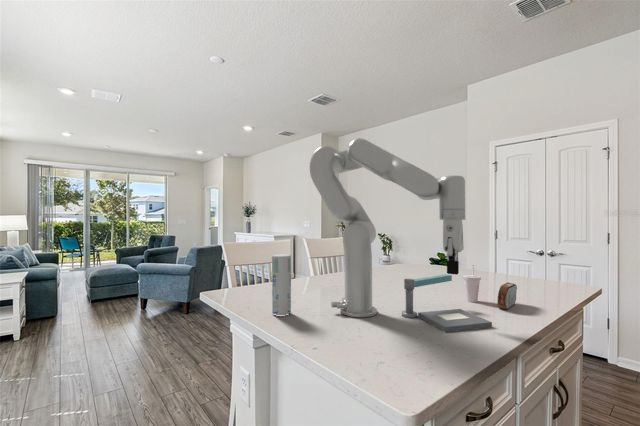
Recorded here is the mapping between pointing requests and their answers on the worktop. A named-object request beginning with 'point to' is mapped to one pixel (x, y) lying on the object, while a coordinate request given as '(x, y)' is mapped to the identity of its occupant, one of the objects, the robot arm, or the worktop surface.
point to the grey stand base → (446, 317)
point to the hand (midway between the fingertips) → (452, 273)
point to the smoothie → (472, 286)
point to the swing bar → (426, 281)
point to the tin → (507, 295)
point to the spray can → (281, 284)
